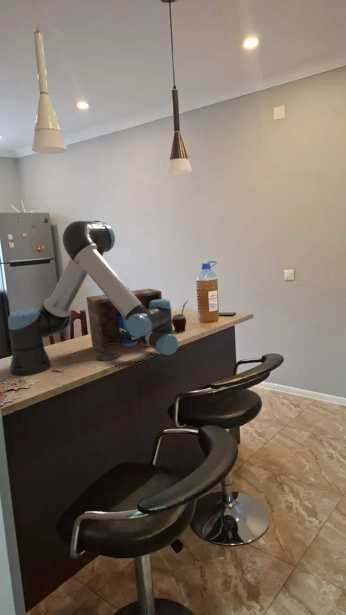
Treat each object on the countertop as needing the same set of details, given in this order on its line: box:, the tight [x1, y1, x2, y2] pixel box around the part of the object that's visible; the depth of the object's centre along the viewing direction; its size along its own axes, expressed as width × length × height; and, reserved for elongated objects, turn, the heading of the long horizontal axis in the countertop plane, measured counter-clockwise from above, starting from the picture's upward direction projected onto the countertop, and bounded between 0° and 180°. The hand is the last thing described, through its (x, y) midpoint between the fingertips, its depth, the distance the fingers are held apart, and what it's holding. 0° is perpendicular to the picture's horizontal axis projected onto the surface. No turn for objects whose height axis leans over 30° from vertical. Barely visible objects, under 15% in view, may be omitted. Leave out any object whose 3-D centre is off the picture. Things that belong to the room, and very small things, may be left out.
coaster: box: [95, 352, 122, 362], centre depth 170 cm, size 10×10×1 cm
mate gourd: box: [172, 299, 189, 333], centre depth 207 cm, size 8×8×15 cm
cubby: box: [86, 288, 163, 355], centre depth 187 cm, size 30×15×23 cm, turn 114°
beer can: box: [117, 312, 139, 347], centre depth 187 cm, size 8×8×16 cm
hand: (135, 328), depth 177 cm, fingers open, 13 cm apart
